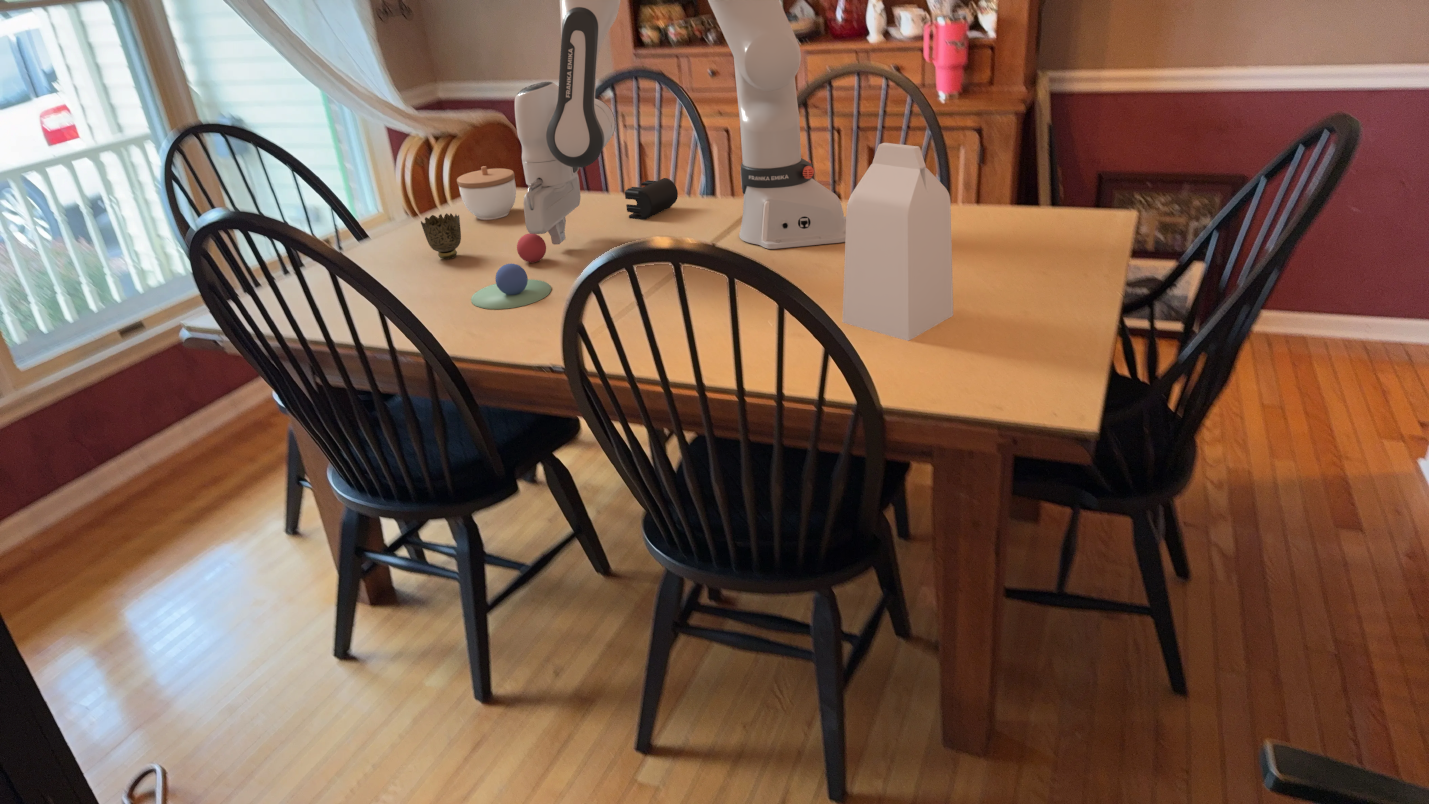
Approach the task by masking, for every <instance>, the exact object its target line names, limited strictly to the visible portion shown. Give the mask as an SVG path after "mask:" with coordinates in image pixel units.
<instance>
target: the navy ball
mask: <svg viewBox="0 0 1429 804" xmlns="http://www.w3.org/2000/svg"><path fill="white" fill-rule="evenodd" d="M494 279H495V284H497V287H498V288H499V289H500V291H502V292H503V293H505V294H507V295H517V294H519V293H521V292H522V291H523V290H524V289H525V288H526V286H527V282H528V279H529V278H528V275H527V272H526V270H525V269H524V268H523V267H522V266H520V265H519V264H516V263H506V264H504V265H503V264H502V266H500V267H499V269H498V270H497V272H496V275H495V278H494Z"/></svg>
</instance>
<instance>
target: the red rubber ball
mask: <svg viewBox="0 0 1429 804" xmlns="http://www.w3.org/2000/svg"><path fill="white" fill-rule="evenodd" d="M516 251H517V254H518V256H519V257H520V259H522V260H523V261H524V262H527V263H538V262H540V261H541V260H542V259H543V258H544V257H545V256H546V252H547V245H546V241H545V240H544V239H543V237H541V236H540V234H530V233H529V232H528V233H525V234H524V235H522V236H521V237H520V238H519V240H518V241H517V244H516Z"/></svg>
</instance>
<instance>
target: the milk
mask: <svg viewBox="0 0 1429 804" xmlns="http://www.w3.org/2000/svg"><path fill="white" fill-rule="evenodd" d="M873 157H874V158H873V160H872V163H871V164H870V165H869V167H868V168H867V170H866V172H865V173H864V175H863V176H862V178H861V179H860V181H859V182H858V184H857V185H856V186H855V187H854V190H853V191H852V193H851V194H850V196H849V199H848V200H847V204H846V210H845V211H846V216H845V217H846V238H845V242H844V266H843V268H844V271H843V272H844V273H843V295H842V323H843V324H846V325H851V326H853V327H856V328H860V329H863V330H867V331H871V332H875V333H878V334H882V335H885V336H889V337H891V338H892V337H893V338H896V339H900V340H903V341H907V342H909V341H911V340H913V339H915V338H917V337H918V336H920V335H923V333H925V332H926V331H928V330H931V329H932V328H934V327H935V326H937V325H939V324H941V323H942V322H944V321H946V320H948V319H950V318H951V317H953V316H954V297H953V295H954V293H953V291H954V289H953V286H954V285H953V284H954V283H953V252H952V251H953V248H952V247H953V246H952V241H953V240H952V213H951V211H952V209H951V207H952V205H951V195H950V193H949V191H948V190H947V187H945V186H944V184H942V182H941V181H940V180H939V179H938V178H937V177H936V176H935V175H934V173H932V172H931V170H929V169H928V168H927V167H926V163H925V159H924V157H923V153H922V150H921V148H920V146H917V145H915V146H914V145H909V144H902V143H901V144H900V143H892V142H891V143H890V142H883V143H880V144H878V146H877V149H876V151H875V154H874V156H873Z"/></svg>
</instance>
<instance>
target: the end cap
mask: <svg viewBox="0 0 1429 804" xmlns="http://www.w3.org/2000/svg"><path fill="white" fill-rule="evenodd" d="M640 185H641V187H639V186H631V187H630V188H629V187H628V188H627V189H626V190H624V197H625V200H633V201H635V202H636V204H626V212H627V213H631V214H629V215H628V218H629V219H631V220H641V221H644V220H647V219H650V218H651V217H654V216H656V215H658V214H660V213H662V212H664V211H666V210H668V209H670V208H672V206H673V205H674V204H675V203H676V202H677V201H678V200H677V199H678V197H679V191H678V188H677V185H676V184H675V183H674V182H673V181H672V180H671V179H670V178H668V177H663V178H661V179H659V180H649V179H647V180H645V181H643V182H641V183H640Z"/></svg>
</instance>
